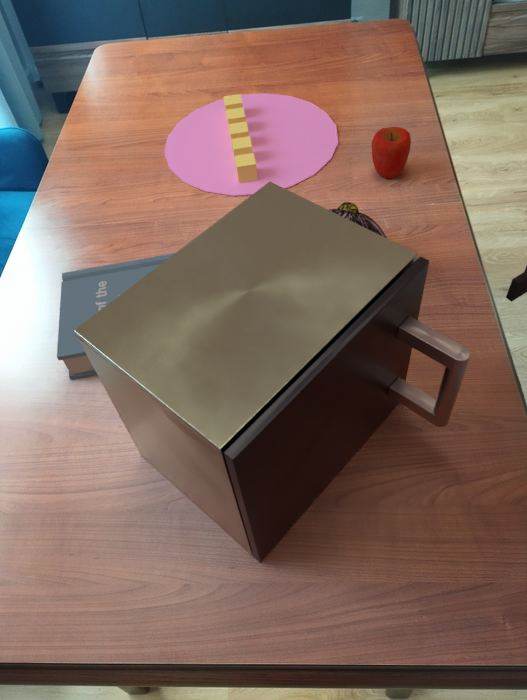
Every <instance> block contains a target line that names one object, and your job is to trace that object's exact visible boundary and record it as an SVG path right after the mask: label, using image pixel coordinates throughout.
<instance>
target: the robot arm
mask: <svg viewBox="0 0 527 700" xmlns="http://www.w3.org/2000/svg"><path fill="white" fill-rule="evenodd" d="M526 293H527V265H526V266H525V268H524V271H523V272H521V273H520V274H519V275H517V276H515V277H514V278H512V279H511V282H510V285H509V288H508V290H507V293H506V296H505V298H506V299H507V300H508V301H510V302H511V303H513V302H514V301H515V300H516V299H518V298H520V297H522V296H523V295H525V294H526Z"/></svg>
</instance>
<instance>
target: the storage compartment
mask: <svg viewBox="0 0 527 700" xmlns="http://www.w3.org/2000/svg"><path fill="white" fill-rule="evenodd" d="M174 253H175V254H174V255H172V256H171V257H170V258H168V259H167V260H166V261H164V262H163V263H162V264H161V265H159V266H158V267H157V268H155V269H154V270H153V271H151V272H150V273H149V274H147V275H146V276H145V277H143V278H142V279H141V280H139V281H138V282H137V283H136V284H134V285H133V286H132V287H130V288H129V289H128V290H126V291H125V292H124V293H122V294H121V295H120V296H118V297H117V298H116V299H114V300H113V301H112V302H111V303H109V304H108V305H107V306H105V307H104V308H103V309H101V310H100V311H99V312H97V313H96V314H95V315H93V316H92V317H91V318H90V319H88V320H87V321H86V322H84V323H83V324H82V325H80V326H79V327H78V328H76V329H75V330H74V332H75V334H76V336H77V338H78V339H79V341H80V343H81V345H82V347H83V349H84V351H85V352H86V354H87V356H88V358H89V360H90V362H91V364H92V365H93V367H94V369H95V371H96V373H97V375H96V376H97V377H98V378H99V380H100V382H101V384H102V386H103V388H104V390H105V392H106V393H107V395H108V397H109V399H110V400H111V403H112V404H113V406H114V408H115V410H116V412H117V414H118V416H119V417H120V420H121V421H122V423H123V425H124V427H125V429H126V430H127V433H128V435H129V437H130V438H131V440H132V442H133V444H134V445H135V447H136V449H137V451H138V453H139V454H140V457H141V458H142V459H143V460H145V462H147V464H149V465H150V466H151V467H152V468H153V469H155V470H156V471H157V472H158V473H159V474H160V475H161V476H163V477H164V478H165V479H166V480H167V481H168V482H169V483H170V484H171V485H173V486H174V487H175V489H177V490H178V491H179V492H180V493H181V494H182V495H183V496H185V497H186V498H187V499H188V500H189V501H190V502H191V503H193V505H195V506H196V507H197V508H198V509H199V510H201V512H203V514H205V515H206V516H207V517H208V518H209V519H210V520H212V522H214V524H216V525H217V526H218V527H219V528H221V530H223V531H224V532H225V534H227V535H228V536H229V537H230V538H232V539H233V540H234V541H235V542H236V543H237V544H238V545H239V546H240V547H242V548H243V550H245V551H246V552H247V553H248V554H249V555H250V556H254V555H253V552H252V548H251V545H250V541H249V538H248V535H247V531H246V528H245V524H244V521H243V518H242V514H241V511H240V507H239V504H238V501H237V497H236V494H235V490H234V487H233V483H232V480H231V477H230V473H229V470H228V466H227V463H226V460H225V456H224V452H225V451H226V450H227V449H228V448H229V447H230V446H231V445H232V444H233V443H234V442H235V441H236V440H237V439H238V438H239V437H240V436H241V435H242V434H243V433H244V432H245V431H246V430H247V429H248V428H249V427H250V426H251V425H252V424H253V423H254V422H255V421H256V420H257V419H258V418H259V417H260V416H261V415H262V414H263V413H264V412H265V411H266V410H267V409H268V408H269V407H270V406H271V405H272V404H273V403H274V402H275V401H276V400H277V399H278V398H279V397H280V396H281V395H282V394H283V393H284V392H285V391H286V390H287V389H288V388H289V387H290V386H291V385H292V384H293V383H294V382H295V381H296V380H297V379H298V378H299V377H300V376H301V375H302V374H303V373H304V372H305V371H306V370H307V369H308V368H309V367H310V366H311V365H312V364H313V363H314V362H315V361H316V360H317V359H318V358H319V357H320V356H321V355H322V354H323V353H324V352H325V351H326V350H327V349H328V348H329V347H330V346H331V345H332V344H333V343H334V342H335V341H336V340H337V339H338V338H339V337H340V336H341V335H342V334H343V333H344V332H345V331H346V330H347V329H348V328H349V327H350V326H351V325H352V324H353V323H354V322H355V321H356V320H357V319H358V318H359V317H360V316H361V315H362V314H363V313H364V312H365V311H366V310H367V309H368V308H369V307H370V306H371V305H372V304H373V303H374V302H375V301H376V300H377V299H378V298H379V297H380V296H381V295H382V294H383V293H384V292H385V291H386V290H387V289H388V288H389V287H390V286H391V285H392V284H393V283H394V282H395V281H396V280H397V279H398V278H399V277H400V276H401V275H402V274H403V273H404V272H405V271H406V270H407V269H408V268H409V267H410V266H411V265H412V264H413V263H414V262H415V261H416V260H417V259H418V252H416V251H414V250H412V249H409V248H407V247H405V246H403V245H401V244H400V243H397V242H396V241H393V240H391V239H389V238H388V237H387V238H385V237H383V236H381V235H379V234H377V233H375V232H373V231H371V230H368V229H366V228H364V227H362V226H360V225H358V224H356V223H354V222H352V221H350V220H348V219H346V218H344V217H342V216H340V215H338V214H336V213H334V212H332V211H330V209H328V208H325V207H323V206H321V205H319V204H318V203H315V202H313V201H311V200H309V199H307V198H305V197H303V196H301V195H299V194H297V193H294V192H293V191H291V190H288V189H287V188H286V189H284V188H282V187H280V186H278V185H276V184H274V183H272V182H268V183H267V184H266V185H264V186H263V187H262V188H260V189H259V190H258V191H256V192H255V193H254V194H253V195H249V196H248V197H247V198H246V199H244V200H243V201H241V203H239V204H238V205H237V206H235V207H234V208H233V209H231V210H230V211H229V212H228V213H226V214H224V216H222V217H221V218H219V219H218V220H217V221H216V222H214V223H213V224H212V225H211V226H209V227H208V228H207V229H205V230H203V231H202V232H200V234H199V235H197V236H196V237H194V238H193V239H192V240H191V241H189V242H188V243H187V244H186V245H184V246H183V247H181V248H180V249H178V251H176V252H174Z"/></svg>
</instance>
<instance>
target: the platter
mask: <svg viewBox="0 0 527 700" xmlns="http://www.w3.org/2000/svg"><path fill="white" fill-rule="evenodd" d="M338 145H339V135H338V126H337V125H336V123H335V121H334V120H333V118H331V116H330V115H329V113H328V112H327V111H325V110H324V109H322V108H321V107H318V106H317V105H316V104H314V103H313V102H312V101H308V100H305V99H301V98H299V97H295V96H292V95H289V94H288V95H287V94H286V95H285V94H278V93H269V92H268V93H267V92H263V93H248V94H241V93H238V94H231V95H224V96H223V98H221V99H218V100H214V101H213V102H210V103H208V104H206V105H203V106H201V107H199V108H197V109H194V110H193V111H192V112H190V113H189V114H188V115H186V116H185V117H184V118H182V119H181V120H180V121H178V122H176V125H174V127H173V129H172V130H171V131H170V133H169V134H168V136H167V137H166V140H165V146H164V150H163V155H164V158H165V161H166V163H167V166H168V169H169V171H171V172H172V173H173V174H174V175H175V176H176V177H177V178H178V179H179V180H180V181H181V182H182V183H184V184H186V185H187V186H190V187H192V188H195V189H198V190H200V191H202V192H205V193H210V194H217V195H224V196H228V197H240V196H243V197H244V196H251V195H253V194H254V193H255V192H256V191H258V190H259V189H260V188H262V187H263V186H264V185H266V184H267V183H268V182H272V183H274V184H276V185H278V186H280V187H282V188H284V189H286V190H287V189H288V188H292V187H294V186H296V185H298V184H301V183H302V182H304V181H306V180H307V179H309V178H311V177H313V176H315V175H316V174H317V173H319V171H321V170H322V169H323V168H324V167H325V166H326V165H327V164H328V163H329V162H330V161H331V160H332V158H333V157H334V154H335V152H336V149H337V147H338Z"/></svg>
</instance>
